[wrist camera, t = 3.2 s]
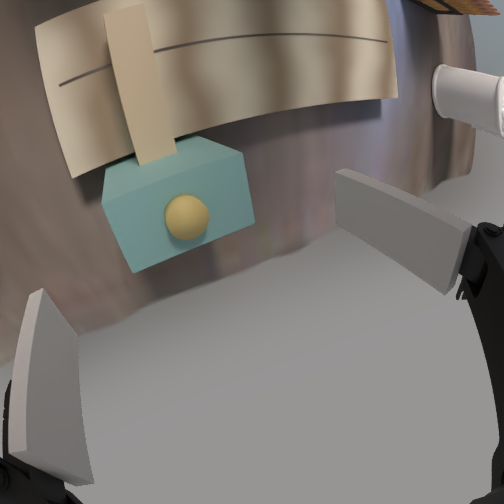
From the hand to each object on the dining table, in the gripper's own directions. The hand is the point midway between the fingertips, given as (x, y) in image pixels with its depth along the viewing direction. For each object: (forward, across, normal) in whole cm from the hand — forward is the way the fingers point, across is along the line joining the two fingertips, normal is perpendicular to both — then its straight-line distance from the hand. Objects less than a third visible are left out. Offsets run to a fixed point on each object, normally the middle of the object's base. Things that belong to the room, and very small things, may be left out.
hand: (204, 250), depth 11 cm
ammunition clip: (+13, +39, +18) cm, 45 cm away
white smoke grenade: (+13, +44, +3) cm, 46 cm away
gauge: (+13, 0, +6) cm, 14 cm away
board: (+13, +10, +9) cm, 19 cm away
